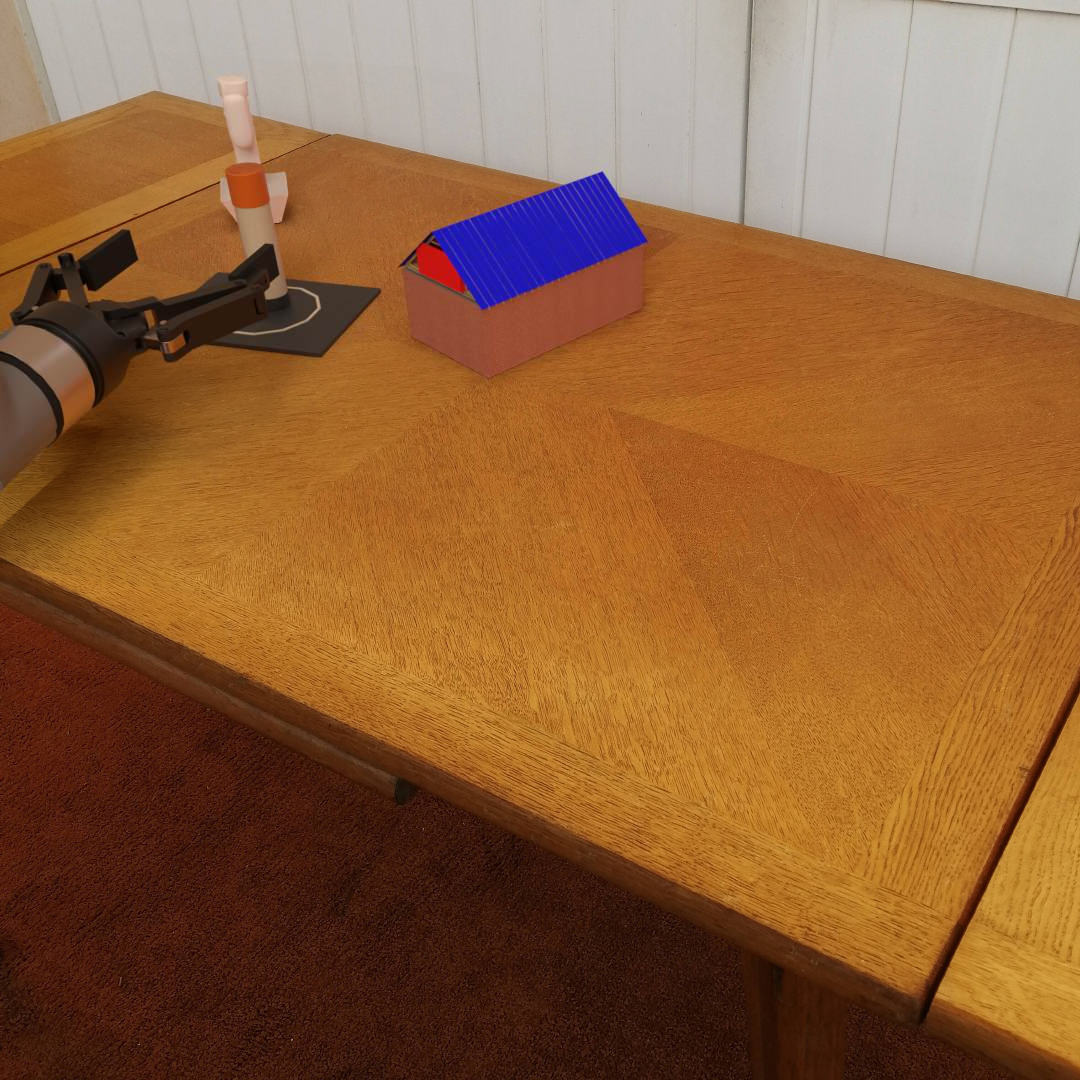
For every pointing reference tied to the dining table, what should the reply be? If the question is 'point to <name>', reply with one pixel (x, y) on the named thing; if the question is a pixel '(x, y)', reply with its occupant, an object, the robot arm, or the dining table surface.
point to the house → (526, 276)
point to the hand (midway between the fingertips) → (200, 251)
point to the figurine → (247, 144)
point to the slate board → (301, 318)
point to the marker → (256, 222)
